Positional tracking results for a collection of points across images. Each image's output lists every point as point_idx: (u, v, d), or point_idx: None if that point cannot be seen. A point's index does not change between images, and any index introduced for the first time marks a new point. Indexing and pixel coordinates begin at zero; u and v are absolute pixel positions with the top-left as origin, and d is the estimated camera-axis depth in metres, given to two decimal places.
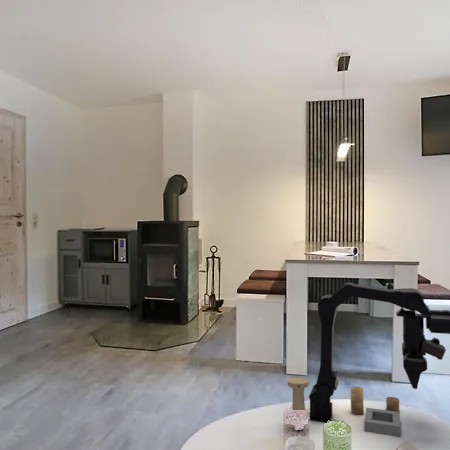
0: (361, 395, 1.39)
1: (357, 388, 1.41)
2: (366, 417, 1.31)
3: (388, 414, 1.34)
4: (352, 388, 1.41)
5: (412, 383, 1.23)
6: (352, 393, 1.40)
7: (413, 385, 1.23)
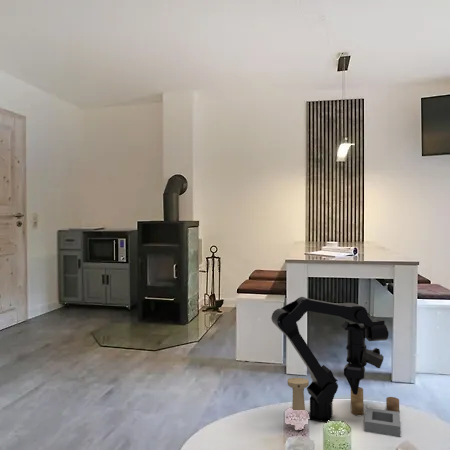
0: (361, 395, 1.39)
1: None
2: (366, 417, 1.31)
3: (388, 414, 1.34)
4: None
5: (353, 389, 1.36)
6: (352, 393, 1.40)
7: (354, 391, 1.36)
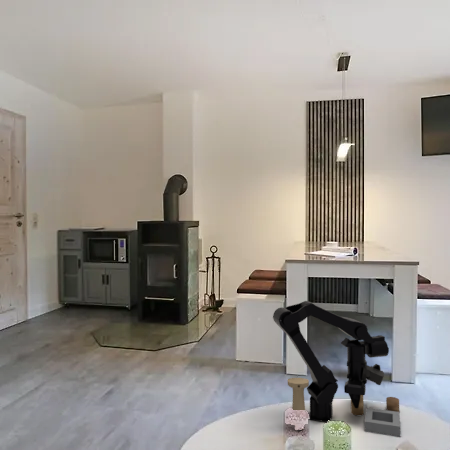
0: (361, 395, 1.39)
1: None
2: (366, 417, 1.31)
3: (388, 414, 1.34)
4: None
5: (354, 403, 1.38)
6: None
7: (355, 405, 1.39)
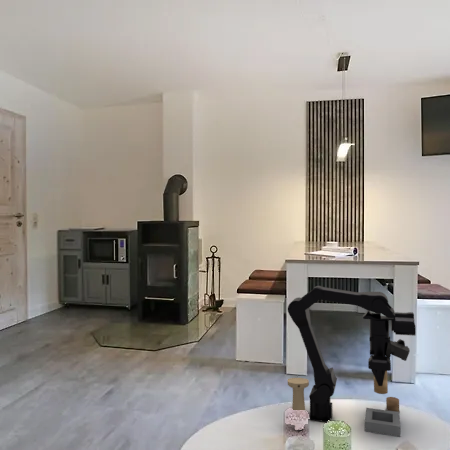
0: (385, 372, 1.30)
1: None
2: (366, 417, 1.31)
3: (388, 414, 1.34)
4: None
5: (378, 381, 1.30)
6: None
7: (379, 382, 1.30)
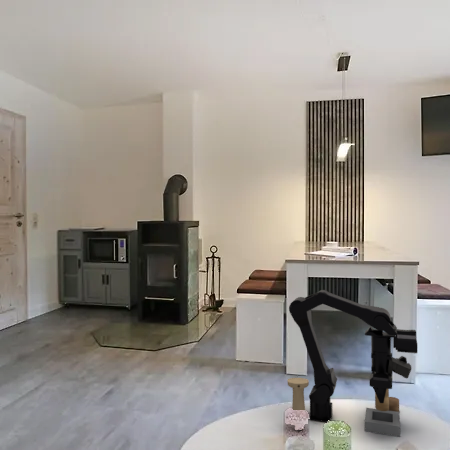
0: (386, 389, 1.30)
1: None
2: (366, 417, 1.31)
3: (388, 414, 1.34)
4: None
5: (379, 398, 1.29)
6: None
7: (380, 400, 1.29)
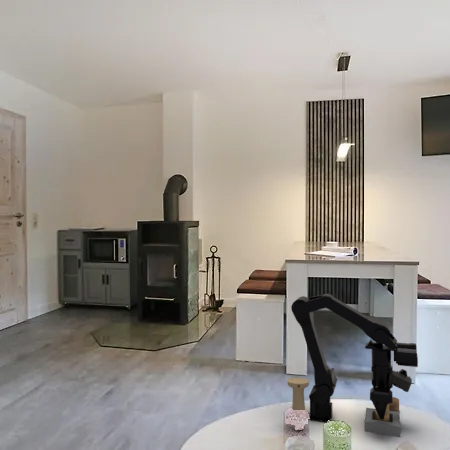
0: (387, 407, 1.30)
1: None
2: (366, 417, 1.31)
3: None
4: None
5: (379, 414, 1.27)
6: None
7: (380, 416, 1.27)
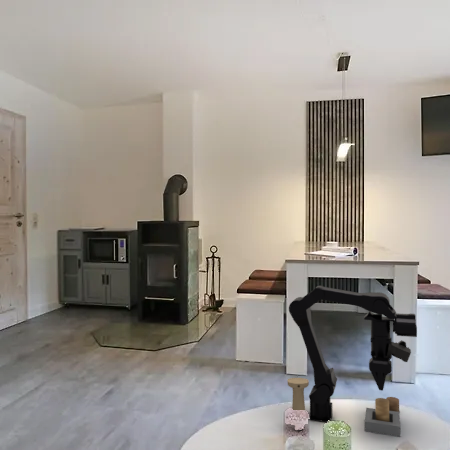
0: (387, 407, 1.30)
1: (383, 400, 1.32)
2: (366, 417, 1.31)
3: None
4: (377, 400, 1.32)
5: (378, 385, 1.27)
6: (377, 405, 1.31)
7: (379, 387, 1.27)
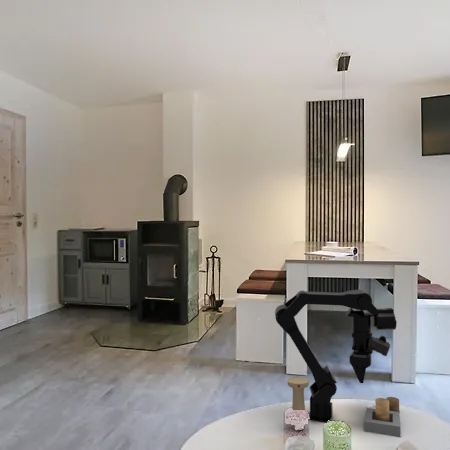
0: (387, 407, 1.30)
1: (383, 400, 1.32)
2: (366, 417, 1.31)
3: None
4: (377, 400, 1.32)
5: (359, 378, 1.33)
6: (377, 405, 1.31)
7: (360, 380, 1.33)
